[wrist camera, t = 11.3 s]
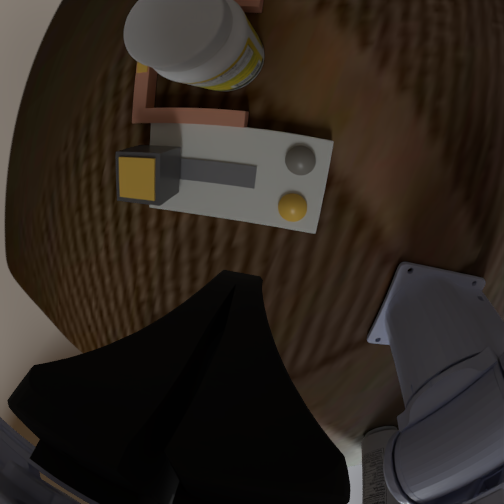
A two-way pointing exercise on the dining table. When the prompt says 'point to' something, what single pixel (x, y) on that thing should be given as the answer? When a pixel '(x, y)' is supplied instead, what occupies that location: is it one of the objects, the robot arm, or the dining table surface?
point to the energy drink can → (376, 466)
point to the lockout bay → (147, 113)
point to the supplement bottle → (195, 42)
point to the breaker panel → (248, 173)
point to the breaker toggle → (148, 174)
